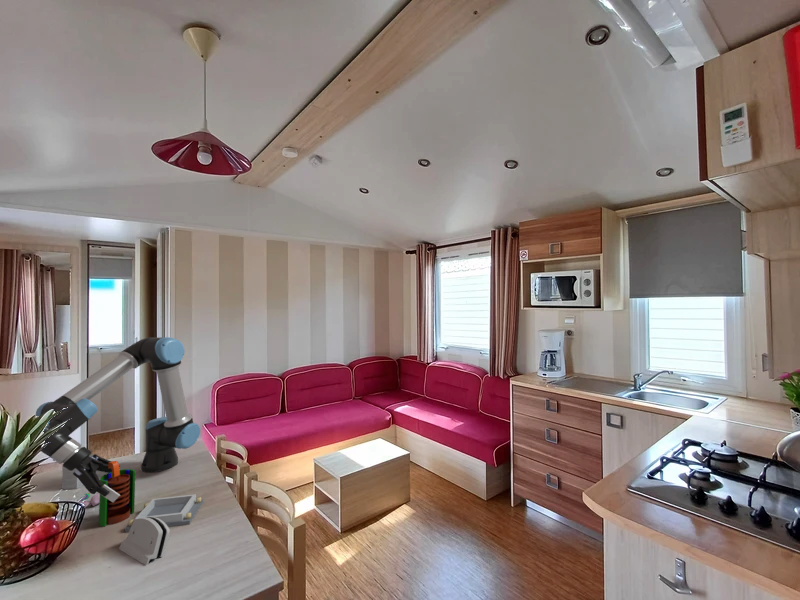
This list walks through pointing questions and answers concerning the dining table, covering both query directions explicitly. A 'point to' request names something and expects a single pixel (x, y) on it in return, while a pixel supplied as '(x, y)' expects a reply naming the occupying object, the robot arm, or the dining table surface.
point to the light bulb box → (70, 479)
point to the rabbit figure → (93, 500)
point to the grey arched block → (146, 539)
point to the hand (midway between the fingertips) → (123, 490)
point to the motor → (124, 503)
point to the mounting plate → (171, 510)
